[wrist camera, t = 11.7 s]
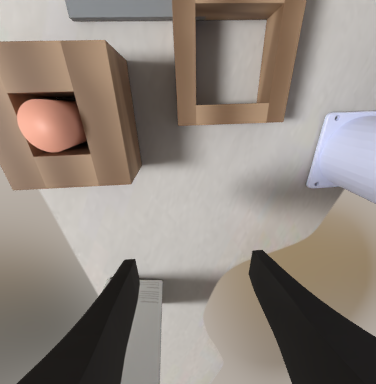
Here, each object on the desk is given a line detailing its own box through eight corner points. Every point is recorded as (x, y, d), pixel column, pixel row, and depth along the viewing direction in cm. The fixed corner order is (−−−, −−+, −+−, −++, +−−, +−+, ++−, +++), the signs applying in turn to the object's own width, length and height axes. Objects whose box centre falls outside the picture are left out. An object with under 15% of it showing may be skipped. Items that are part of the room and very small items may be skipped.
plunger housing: (126, 60, 15) (104, 40, 10) (141, 165, 19) (131, 184, 14) (12, 62, 14) (-62, 42, 10) (53, 169, 18) (13, 190, 14)
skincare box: (108, 302, 28) (47, 484, 14) (107, 275, 25) (30, 466, 12) (162, 303, 29) (152, 475, 15) (166, 277, 26) (157, 456, 13)
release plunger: (96, 100, 15) (63, 98, 11) (104, 139, 17) (78, 151, 12) (57, 102, 15) (7, 99, 11) (69, 140, 16) (29, 153, 12)
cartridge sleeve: (289, -7, 14) (312, -30, 11) (269, 119, 17) (283, 121, 15) (171, -7, 13) (170, -30, 11) (177, 123, 17) (178, 125, 15)
